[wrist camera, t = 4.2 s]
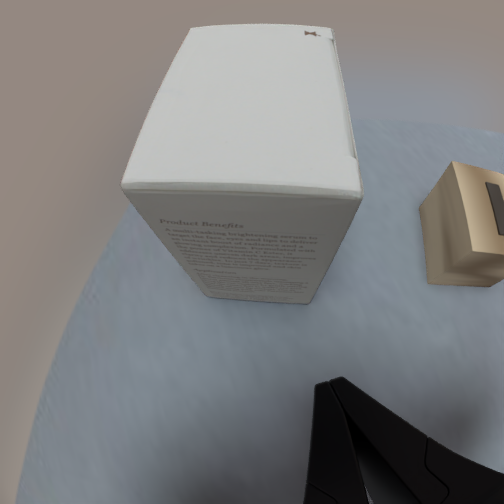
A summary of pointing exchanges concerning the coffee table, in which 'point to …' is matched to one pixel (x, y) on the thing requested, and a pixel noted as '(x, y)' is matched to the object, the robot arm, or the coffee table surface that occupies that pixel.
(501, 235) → the marked block
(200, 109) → the small box
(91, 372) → the coffee table surface
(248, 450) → the coffee table surface
